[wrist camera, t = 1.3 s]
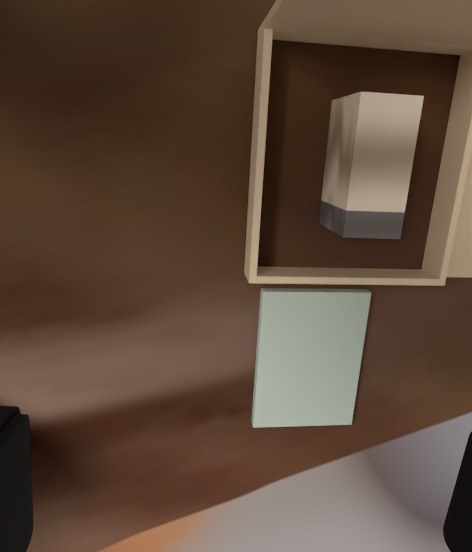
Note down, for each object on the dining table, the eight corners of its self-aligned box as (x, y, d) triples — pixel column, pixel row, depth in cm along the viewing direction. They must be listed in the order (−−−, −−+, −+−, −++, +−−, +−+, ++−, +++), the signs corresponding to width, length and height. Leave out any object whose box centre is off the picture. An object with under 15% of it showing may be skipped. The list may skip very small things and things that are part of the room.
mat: (260, 287, 38) (262, 291, 37) (366, 289, 39) (371, 292, 39) (251, 421, 42) (253, 427, 41) (348, 418, 44) (351, 424, 43)
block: (331, 100, 34) (361, 91, 29) (385, 103, 35) (423, 95, 29) (318, 223, 37) (342, 237, 31) (368, 224, 38) (400, 238, 32)
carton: (258, 29, 32) (297, -34, 21) (525, 52, 35) (690, 7, 23) (244, 272, 38) (269, 328, 26) (475, 276, 40) (589, 328, 29)
